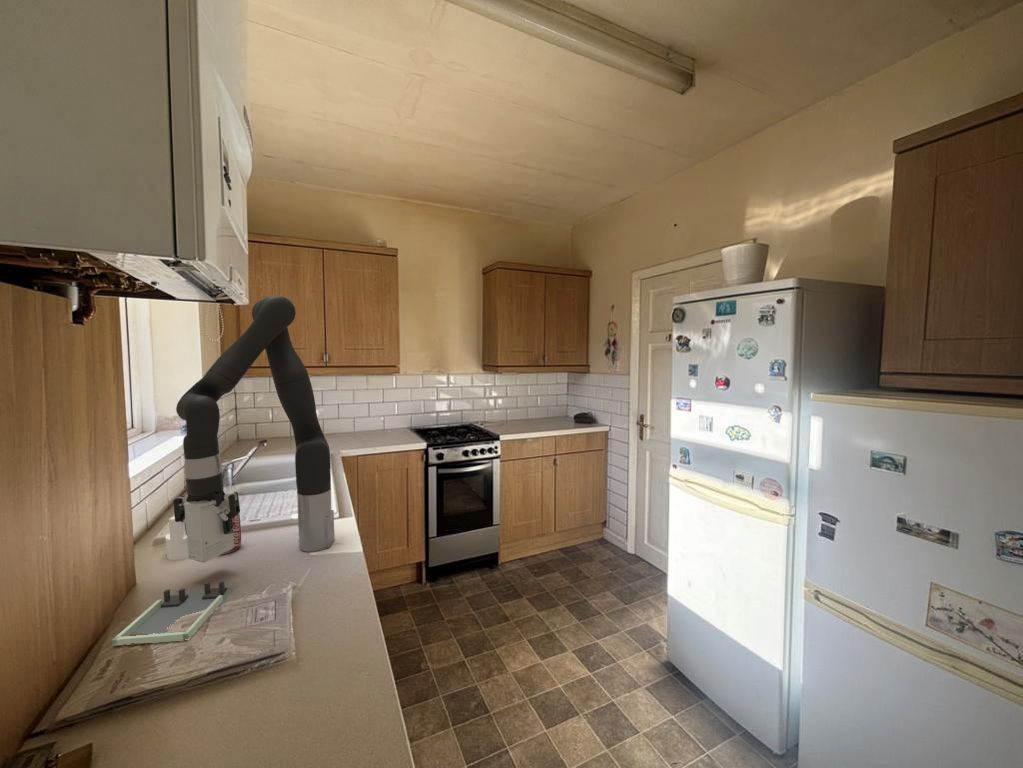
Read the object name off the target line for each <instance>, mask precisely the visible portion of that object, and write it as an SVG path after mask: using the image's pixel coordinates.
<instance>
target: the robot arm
mask: <svg viewBox="0 0 1023 768" xmlns="http://www.w3.org/2000/svg"><path fill="white" fill-rule="evenodd" d="M296 313H297V312H296V307H295V305H294V304H293V302H292V301H291V300H290V299H289V298H287V297H285V296H283V295H269V296H266V297H264V298H262V299H259V300H258V301H257V302H255V304H254V305H253V306H252V310H251V316H252V322H251V324H250V325H249V327H247V329H246V330H245V331H244V332H243V334H242V335H240V336H239V338H238V339H236V340H235V342H233V343H232V344H231V345H230V346H229V347H228V348H226V350H224V352H223V353H222V354H220V355H219V357H218V358H217V359H216V360H215V362H214V363H213V364H212V365H211V367H209V369H208V370H207V372H205V374H204V375H203V377H202V378H200V379H199V380H198V381H197V382H195V384H193V385H192V386H191V387H190V388H189V389H188V390H187V391H186V392H185V393H184V394H183V395H182V396H181V397H180V399H179V400H178V401H177V404H176V407H175V412H176V413H177V416H178V417H179V418H180V419H182V420H184V421H185V425H186V435H185V436H184V437H183V440H182V441H183V443H182V445H183V456H184V465H183V470H184V479H185V488H186V494H187V496H184V495H180V496H178V497H176V498H174V499H173V502H172V503H173V514H174V515H173V516H175V521H176V522H179V521H180V522H183V523H184V524H185V530H186V520H185V508H184V503H187V502H190V501H196V502H199V501H201V500H207V501H211V500H216V505H215V504H213V505H214V512H215V513H216V514H217V515H219V516H220V517H221V518H222V519H223V530H224V534H228V533H229V532H230V531H231V530H232V529H233V521H232V518H234V517H235V516H237V515H238V514H240V513H241V506H240V497H239V492H237V491H234V492H233V493H225V491H224V488H225V487H224V476H223V475H224V474H223V466H222V465H223V463H222V460H221V459H222V458H221V454H220V447H219V445H220V444H219V438H218V434H219V430H220V429H219V427H220V418H221V417H220V415H221V414H220V408H219V405H218V401H219V400H220V399H221V398H222V397H223V396H224V395H226V394H229V393H230V392H232V390H234V389H235V387H236V386H237V385H238V384H239V382H240V381H241V380H242V378H243V377H244V376H245V374H247V372H248V371H249V369H250V368H251V367H252V365H253V364H254V363H255V362H256V360H257V359H258V358H259V356H260V355H261V354H262V353H263V352H264V350H265V353H266V354H265V355H266V357H267V361H268V365H269V368H270V369H269V370H270V373H271V376H272V380H273V384H274V387H275V391H276V394H277V397H278V399H279V402H280V404H281V406H282V408H283V411H284V413H285V415H286V416H287V418H288V421H289V422H290V425H291V427H292V428H291V429H292V431H293V436H294V437H293V438H294V442H295V455H294V461H295V462H294V464H295V465H294V466H295V485H296V497H297V498H296V499H297V521H298V523H297V524H298V525H297V526H298V545H299V546H298V548H299V549H300V551H303V552H309V553H311V552H317V551H321V550H325V549H329V548H330V547H331V546H332V544H333V543H334V540H335V514H334V513H335V510H333V509H332V478H331V477H332V476H331V475H332V474H331V471H332V470H331V451H330V445H329V444H328V441H327V440H326V439H327V438H326V437H325V435H324V432H323V430H322V427H321V425H320V422H319V419H318V415H317V407H316V400H315V399H316V398H315V395H314V394H315V393H314V391H313V386H312V382H311V379H310V375H309V372H308V370H307V368H306V365H305V364H304V363H303V361H302V360H301V358H300V356H299V355H298V353H297V351H296V350H295V348H294V346H293V344H292V340H291V338H290V337H291V336H290V334H289V328H288V327H289V326H291V324H292V323H294V321H295V318H296V315H297V314H296ZM225 499H226V500H227V502H228V503H229V508H230V510H229V509H228V507H223V508H222V509H219V508H218V506H219V505H220V504H221V502H222V501H224V500H225ZM224 511H225V512H224ZM186 534H187V533H186Z"/></svg>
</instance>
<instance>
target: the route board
mask: <svg viewBox="0 0 1023 768" xmlns="http://www.w3.org/2000/svg"><path fill="white" fill-rule="evenodd" d="M203 585H204V588H191V589H186V588H185V587H184V588H183V587H182V588H180V589H178V590H177V589H175V590H174V591H173V592H172V593H171V589H165V590H163V600H162V603H163V604H162V605H161V607H160V608H159V609H158V610H157V611H156V612H155V613H154V614H153V615H152V616H151V617H149V618H148V619H147V620H146V621H145V622H144V623H143V624H142V625H141V626H139V627H138V628H137V629H136V630H135V631H134V632H133V634H135V633H137V634H140V633H143V632H144V633H146V634H153V633H155V634H156V633H161V632H162V633H165V632H167V631H168V630H169V629H168V630H166V629H167V627H168V628H169V626H170V624H171V625H172V624H175V623H174V622H176V621H175V620H177V619H180V617H182V616H185V615H186V614H187V615H189V614H192V613H196V612H199V611H202V610H204V609H207V608H208V607H209V606H210V604H211V603H212V602H213V601H214V600H215V599H216V598H217V597H218V596H219V595H223V602H222V603H221V604H220V606H221V605H222V604H224V602H225V601H226V600H227V598H228V597H230V595H231V594H232V593H233V592H234V590H236V589H237V588H238V586H237V585H235V586H234V585H233V586H225V581H224V580H222V581H220V582H218V587H211V582H205V583H204V584H203ZM170 627H171V626H170Z"/></svg>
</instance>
